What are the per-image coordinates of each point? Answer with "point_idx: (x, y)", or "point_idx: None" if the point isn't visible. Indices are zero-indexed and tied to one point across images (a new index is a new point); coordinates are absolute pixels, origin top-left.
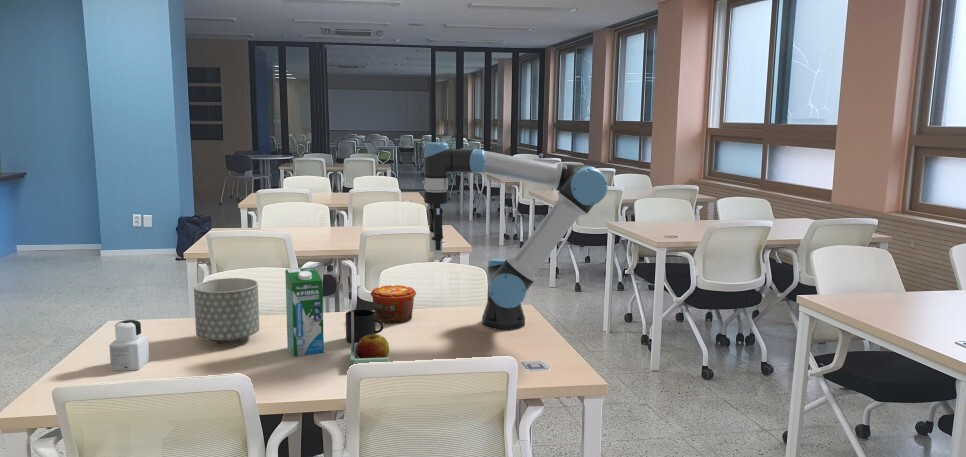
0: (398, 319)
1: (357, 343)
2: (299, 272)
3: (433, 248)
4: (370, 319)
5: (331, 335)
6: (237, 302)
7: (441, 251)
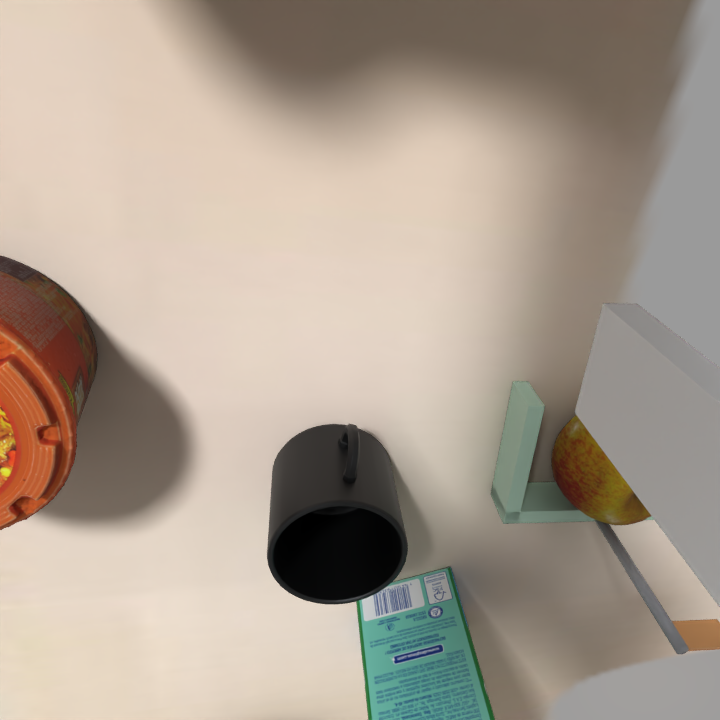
0: (85, 334)
1: (513, 505)
2: None
3: (680, 527)
4: (391, 507)
5: (258, 559)
6: None
7: (713, 377)
